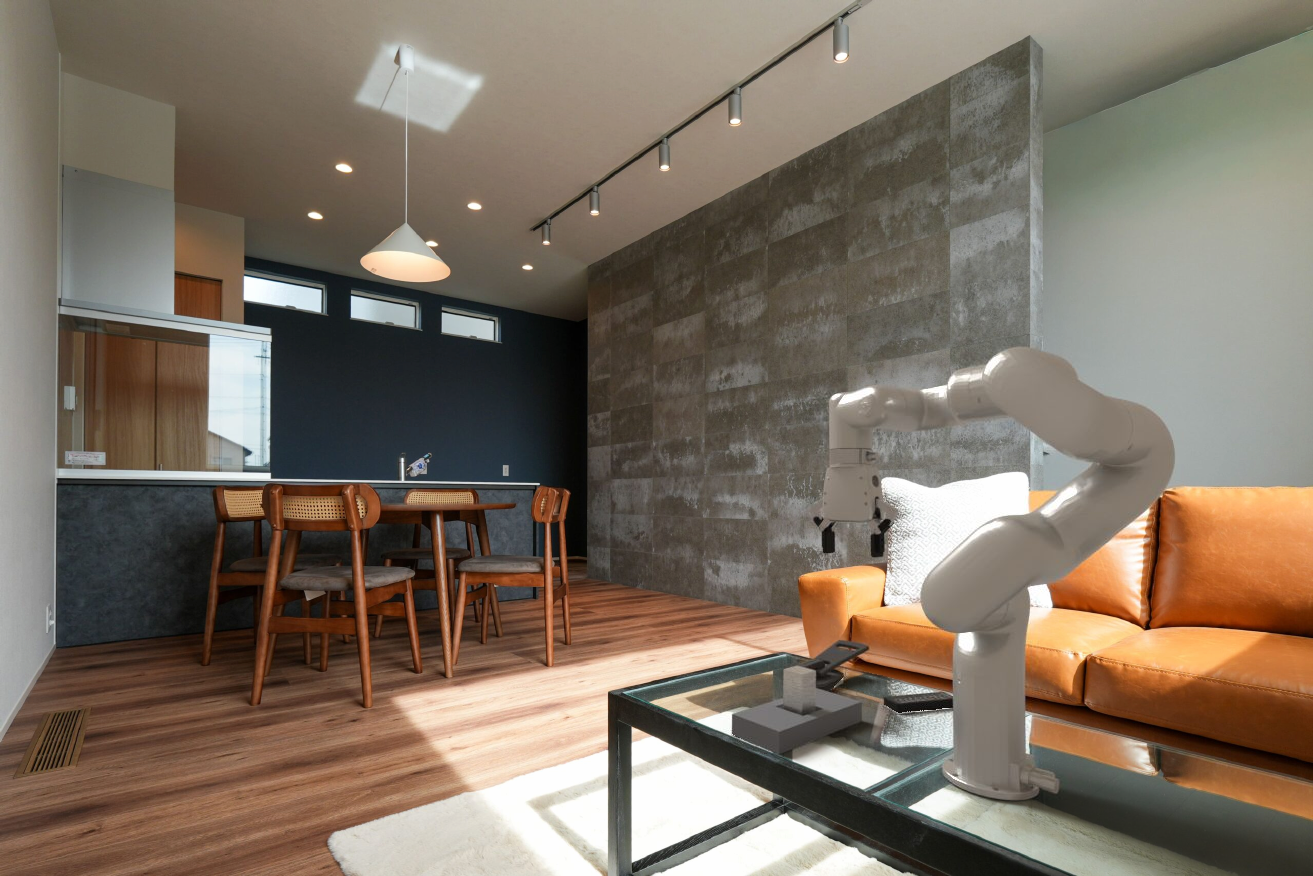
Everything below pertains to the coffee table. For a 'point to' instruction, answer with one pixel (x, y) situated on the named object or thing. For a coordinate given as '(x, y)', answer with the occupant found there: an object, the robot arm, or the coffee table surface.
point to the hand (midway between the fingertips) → (852, 554)
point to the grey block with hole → (795, 722)
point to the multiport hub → (919, 702)
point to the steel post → (799, 690)
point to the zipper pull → (833, 662)
